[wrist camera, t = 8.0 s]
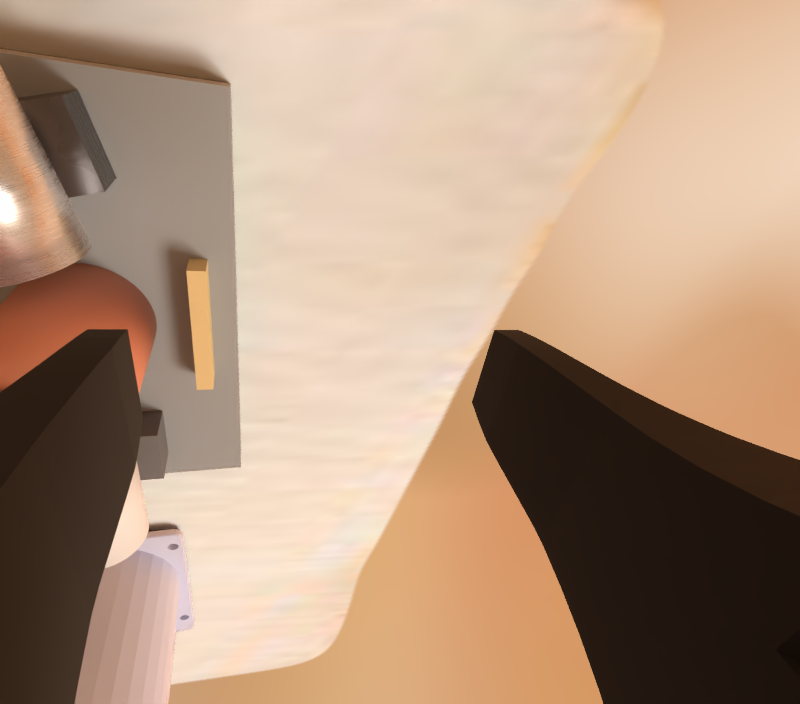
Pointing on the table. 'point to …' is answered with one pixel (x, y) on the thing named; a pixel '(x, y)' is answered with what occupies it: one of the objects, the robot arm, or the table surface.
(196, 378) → the bench
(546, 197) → the table surface
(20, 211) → the shaft
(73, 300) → the cylinder
